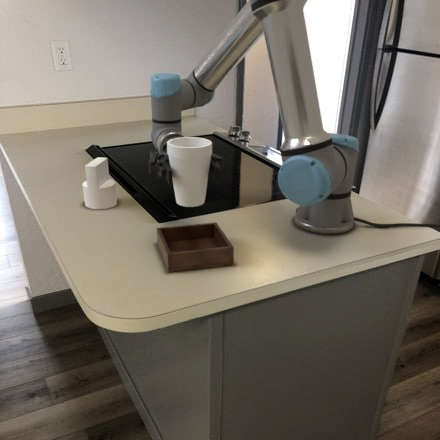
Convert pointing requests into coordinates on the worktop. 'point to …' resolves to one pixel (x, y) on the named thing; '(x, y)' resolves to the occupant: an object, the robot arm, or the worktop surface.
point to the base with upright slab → (99, 185)
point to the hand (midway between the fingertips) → (194, 176)
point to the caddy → (194, 247)
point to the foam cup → (189, 169)
